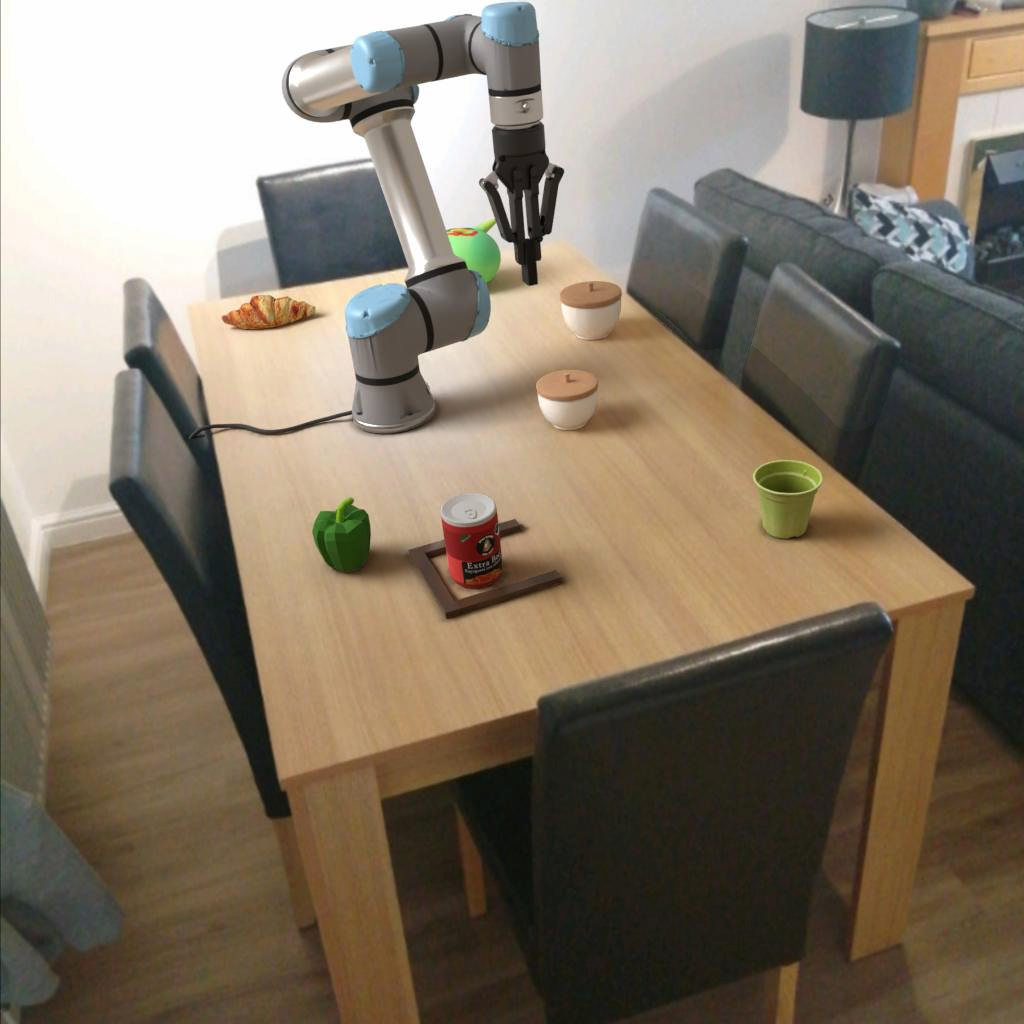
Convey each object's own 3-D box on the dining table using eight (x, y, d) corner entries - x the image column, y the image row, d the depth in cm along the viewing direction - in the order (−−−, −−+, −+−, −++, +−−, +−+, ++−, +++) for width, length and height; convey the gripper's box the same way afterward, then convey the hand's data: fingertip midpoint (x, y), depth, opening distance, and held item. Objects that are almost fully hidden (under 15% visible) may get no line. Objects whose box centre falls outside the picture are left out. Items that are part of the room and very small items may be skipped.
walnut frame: (515, 524, 157) (515, 518, 156) (562, 582, 143) (561, 576, 142) (408, 555, 152) (407, 549, 151) (446, 619, 138) (445, 613, 138)
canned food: (468, 596, 142) (459, 529, 136) (439, 570, 148) (429, 505, 142) (514, 575, 145) (507, 509, 140) (484, 550, 151) (476, 486, 145)
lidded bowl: (633, 326, 218) (632, 275, 212) (604, 349, 209) (602, 296, 203) (580, 318, 224) (578, 269, 218) (551, 340, 215) (547, 289, 209)
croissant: (319, 325, 243) (313, 291, 243) (316, 319, 233) (311, 284, 233) (227, 337, 241) (221, 302, 240) (221, 332, 231) (215, 296, 230)
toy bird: (421, 300, 242) (412, 238, 234) (437, 275, 256) (429, 215, 248) (496, 298, 239) (490, 235, 231) (509, 273, 253) (503, 213, 245)
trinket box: (595, 437, 178) (593, 387, 173) (534, 436, 180) (530, 386, 175) (603, 408, 187) (601, 360, 182) (544, 408, 189) (541, 360, 184)
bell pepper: (328, 585, 147) (315, 526, 142) (314, 557, 154) (301, 499, 148) (384, 568, 150) (374, 509, 144) (368, 541, 156) (357, 483, 151)
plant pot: (805, 552, 144) (810, 499, 139) (741, 536, 149) (743, 484, 144) (827, 519, 151) (831, 467, 146) (764, 505, 155) (767, 454, 151)
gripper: (484, 135, 143) (500, 298, 155) (570, 120, 146) (578, 281, 159) (465, 126, 149) (482, 284, 161) (548, 112, 153) (558, 267, 165)
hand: (530, 282), depth 160 cm, fingers closed
